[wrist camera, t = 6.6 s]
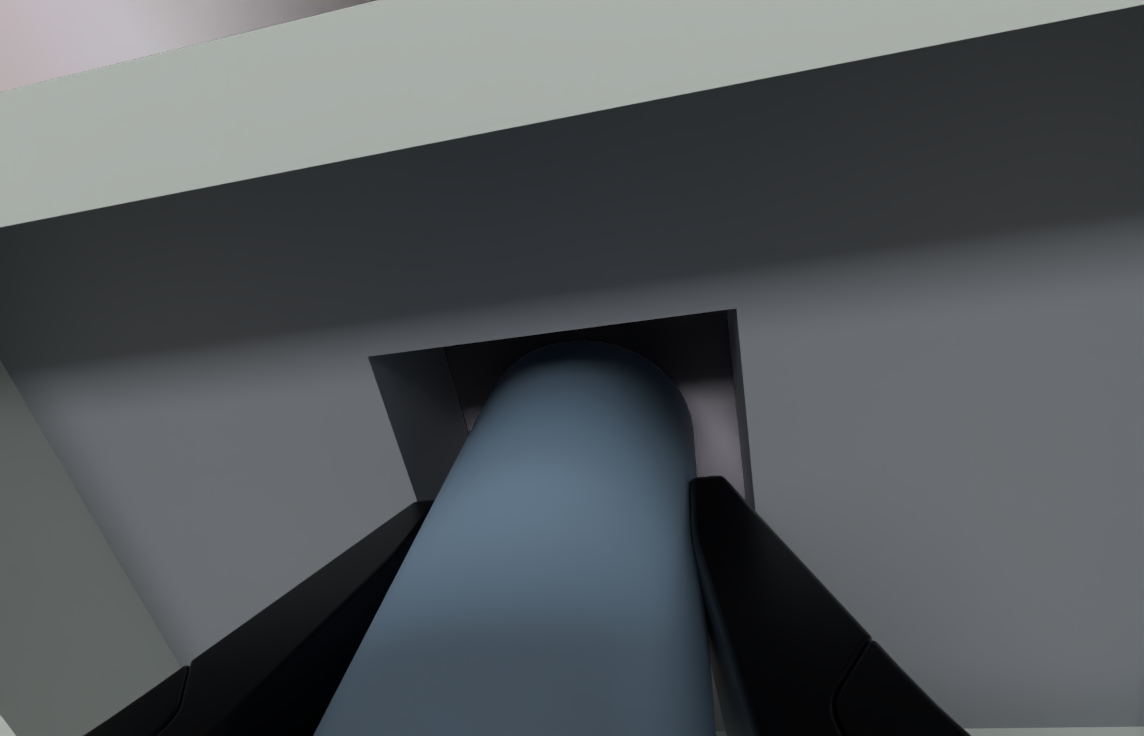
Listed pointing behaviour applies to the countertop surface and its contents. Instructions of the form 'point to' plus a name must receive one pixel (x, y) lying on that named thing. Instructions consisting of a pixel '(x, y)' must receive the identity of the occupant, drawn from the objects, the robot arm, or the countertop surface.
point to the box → (587, 313)
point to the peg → (549, 570)
